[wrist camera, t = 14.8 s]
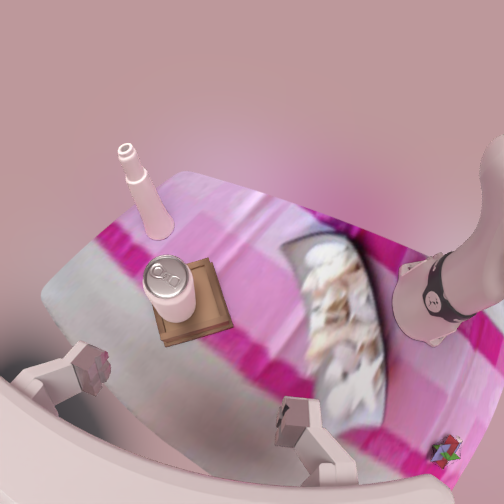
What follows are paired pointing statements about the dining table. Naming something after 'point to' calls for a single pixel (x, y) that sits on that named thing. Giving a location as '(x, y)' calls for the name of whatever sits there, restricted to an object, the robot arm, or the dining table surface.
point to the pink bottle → (145, 195)
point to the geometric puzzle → (446, 451)
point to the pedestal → (199, 309)
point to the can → (170, 288)
